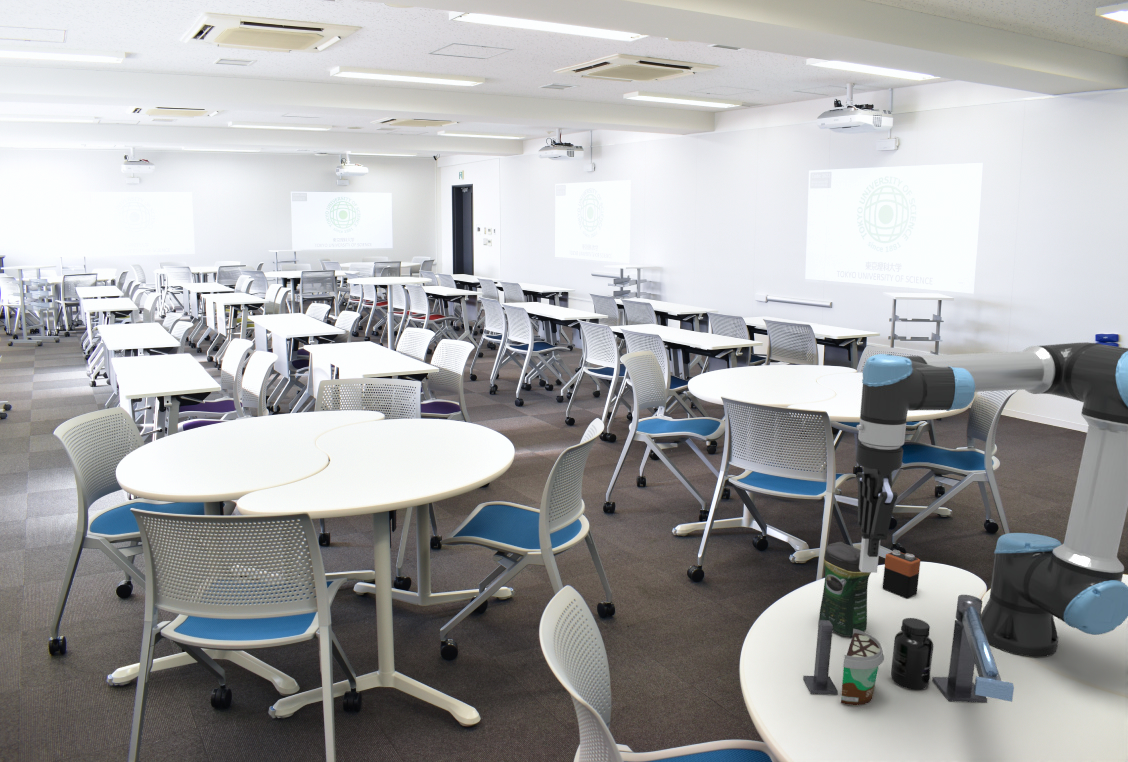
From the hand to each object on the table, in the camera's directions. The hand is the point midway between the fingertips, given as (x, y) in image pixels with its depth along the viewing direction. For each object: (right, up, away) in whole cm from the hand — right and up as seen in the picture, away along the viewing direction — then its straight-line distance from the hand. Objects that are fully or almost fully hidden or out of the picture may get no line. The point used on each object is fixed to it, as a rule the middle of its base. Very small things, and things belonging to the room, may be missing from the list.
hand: (867, 570), depth 142 cm
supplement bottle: (+12, -24, +9) cm, 28 cm away
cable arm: (+15, -12, -9) cm, 21 cm away
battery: (+26, -17, +48) cm, 58 cm away
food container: (0, -24, +4) cm, 25 cm away
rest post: (-7, -23, +6) cm, 25 cm away
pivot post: (+19, -24, +6) cm, 32 cm away
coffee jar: (+6, -20, +30) cm, 36 cm away
